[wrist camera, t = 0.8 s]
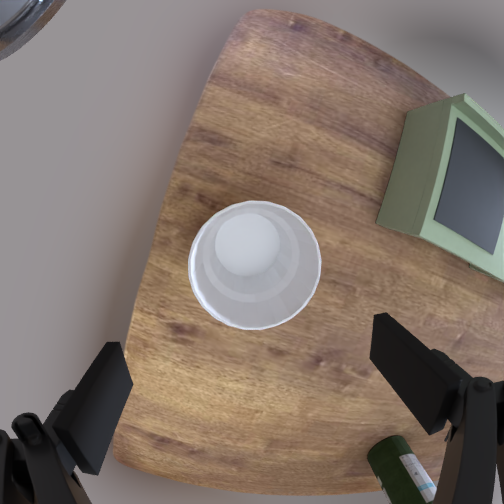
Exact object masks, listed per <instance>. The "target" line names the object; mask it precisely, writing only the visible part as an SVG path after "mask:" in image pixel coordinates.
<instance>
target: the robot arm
mask: <svg viewBox="0 0 504 504" xmlns="http://www.w3.org/2000/svg"><path fill="white" fill-rule="evenodd" d="M37 1H38V0H0V34H1V33H3V32H5V31H6V30H8V29H9V28H10V27H12V26H13V25H14V24H15V23H16V22H18V21H19V20H20V19H21V18H22V17H23V16H24V15H25V14H26V13H27V12H28V11H29V10H30V9H31V8H32V7H33V5H34V4H35V3H36V2H37ZM370 360H371V361H372V362H373V364H374V365H375V366H376V367H377V369H378V370H379V371H380V372H381V374H382V375H383V376H384V378H385V379H386V380H387V381H388V383H389V384H390V385H391V386H392V388H393V389H394V390H395V392H396V393H397V394H398V395H399V397H400V398H401V399H402V401H403V402H404V403H405V405H406V406H407V407H408V408H409V410H410V411H411V412H412V414H413V415H414V416H415V418H416V419H417V420H418V421H419V423H420V424H421V425H422V427H423V428H424V429H425V431H426V432H427V433H428V435H432V434H434V433H436V432H438V431H440V430H442V429H443V428H444V426H445V424H446V421H447V419H448V420H449V421H450V422H451V424H452V425H451V427H450V429H449V432H448V434H447V436H446V438H445V440H444V441H445V442H446V441H447V439H448V441H447V447H446V452H445V457H444V461H443V466H442V470H441V474H440V478H439V482H438V486H437V489H436V493H435V496H434V500H433V503H432V504H492V498H493V491H494V483H495V472H496V464H497V469H498V475H499V481H500V487H501V494H502V502H503V504H504V381H500V382H496V383H493V382H492V381H491V380H489V379H487V378H485V377H475V378H472V377H471V376H470V375H469V374H468V373H467V372H466V371H464V370H463V369H462V368H461V367H460V366H459V365H457V364H455V362H454V361H453V360H452V359H450V358H449V357H448V356H447V355H446V354H445V353H443V352H441V351H439V350H436V349H432V350H430V349H428V348H427V347H426V346H425V345H424V344H423V343H422V342H420V341H419V340H418V339H417V338H416V337H415V336H413V335H412V334H411V333H410V332H409V331H408V330H406V329H405V328H404V327H403V326H402V325H401V324H399V323H398V322H397V321H396V320H395V319H394V318H392V317H391V316H390V315H389V314H388V313H381V314H376V315H374V320H373V331H372V341H371V350H370ZM132 386H133V382H132V379H131V376H130V373H129V370H128V367H127V364H126V361H125V358H124V354H123V351H122V348H121V345H120V342H107V343H106V344H105V345H104V347H103V348H102V350H101V351H100V352H99V354H98V356H97V357H96V358H95V360H94V361H93V363H92V364H91V366H90V367H89V369H88V370H87V372H86V373H85V375H84V376H83V378H82V379H81V381H80V382H79V384H78V385H77V387H76V388H75V390H69V391H67V392H66V393H65V394H63V395H62V396H61V398H60V399H59V401H58V402H57V404H56V405H55V407H54V408H53V410H52V411H51V413H50V414H49V416H48V417H47V419H46V420H45V422H44V424H43V425H42V423H41V421H40V420H39V418H38V416H37V415H36V414H34V413H23V414H21V415H19V416H17V417H16V418H15V419H14V420H13V422H12V429H13V431H14V432H15V433H16V435H17V437H18V438H19V439H10V437H9V436H8V434H7V433H6V432H5V431H4V430H0V504H92V503H91V502H90V500H89V498H88V496H87V494H86V492H85V490H84V489H83V487H82V485H81V483H80V481H79V478H78V476H77V475H76V473H75V472H74V471H73V470H74V468H75V466H76V465H77V466H78V467H79V469H80V470H81V471H82V472H83V473H88V474H92V475H98V474H99V472H100V469H101V466H102V463H103V461H104V458H105V455H106V452H107V450H108V447H109V444H110V442H111V439H112V436H113V434H114V431H115V429H116V426H117V424H118V421H119V418H120V416H121V413H122V411H123V408H124V406H125V403H126V401H127V399H128V396H129V394H130V391H131V389H132Z"/></svg>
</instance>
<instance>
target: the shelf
mask: <svg viewBox="0 0 504 504" xmlns="http://www.w3.org/2000/svg"><path fill="white" fill-rule="evenodd" d="M376 224H378V225H380V226H382V227H385V228H388V229H391V230H395V231H398V232H401V233H404V234H408V235H411V236H414V237H417V238H421V239H423V240H425V241H427V242H429V243H431V244H433V245H435V246H437V247H439V248H441V249H443V250H445V251H447V252H449V253H451V254H453V255H455V256H457V257H459V258H461V259H463V260H464V261H466V262H468V263H470V266H469V268H471V269H473V270H475V271H477V272H480V273H482V274H484V275H487V276H489V277H491V278H494V279H496V280H498V281H501V282H503V283H504V129H503V128H502V127H501V126H500V125H499V124H498V123H497V122H496V121H495V120H494V119H493V118H492V117H491V116H490V115H489V114H488V113H487V112H486V111H485V110H483V108H481V107H480V106H479V105H478V104H477V103H476V102H475V101H474V100H472V99H471V98H470V97H469V96H468V95H466V94H465V93H464V94H460V95H457V96H454V97H451V98H447V99H444V100H441V101H437V102H434V103H431V104H428V105H425V106H422V107H419V108H417V109H414V110H411V111H408V112H407V116H406V120H405V124H404V128H403V132H402V136H401V140H400V144H399V148H398V152H397V155H396V159H395V163H394V166H393V170H392V173H391V176H390V180H389V183H388V186H387V190H386V193H385V196H384V199H383V202H382V205H381V208H380V211H379V214H378V217H377V220H376Z"/></svg>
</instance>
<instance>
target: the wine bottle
mask: <svg viewBox="0 0 504 504" xmlns="http://www.w3.org/2000/svg"><path fill="white" fill-rule="evenodd" d="M368 462H369V464H370V466H371V468H372V470H373V472H374V474H375V476H376V478H377V480H378V482H379V484H380V486H381V488H382V490H383V492H384V494H385V495H386V498H387V500H388V502H389V504H432V503H433V500H434V496H435V493H436V489H437V488H436V487H435V485H434V484H433V482H432V481H431V479H430V478H429V476H428V474H427V473H426V471H425V470H424V468H423V467H422V465H421V464H420V462H419V461H418V459H417V458H416V456H415V455H414V453H413V451H412V450H411V448H410V447H409V445H408V444H407V442H406V441H405V439H404V438H403V437H401V436H393V437H389V438H387V439H384V440H383V441H381V442H379V443H378V444H377V445H375V446H374V447H373V448H372V449H371V451H370V452H369V454H368Z"/></svg>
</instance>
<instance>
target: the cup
mask: <svg viewBox="0 0 504 504" xmlns="http://www.w3.org/2000/svg"><path fill="white" fill-rule="evenodd" d="M320 272H321V256H320V250H319V245H318V242H317V240H316V238H315V236H314V234H313V232H312V230H311V229H310V227H309V226H308V225H307V224H306V223H305V222H304V220H303V219H302V218H301V217H300V216H298V215H297V214H295V213H294V212H292V211H291V210H289V209H288V208H286V207H284V206H281V205H278V204H275V203H272V202H269V201H246V202H241V203H237V204H233V205H230V206H228V207H227V208H225V209H223V210H221V211H219V212H217V213H216V214H214V215H213V216H212V217H211V218H210V219H209V220H208V221H207V222H206V223H205V224H204V225H203V226H202V227H201V229H200V230H199V232H198V234H197V236H196V237H195V239H194V241H193V243H192V246H191V250H190V254H189V258H188V277H189V280H190V283H191V287H192V290H193V293H194V295H195V296H196V298H197V299H198V301H199V303H200V304H201V306H202V307H203V308H204V309H205V310H206V311H207V312H208V313H209V314H210V315H212V316H213V317H214V318H215V319H217V320H219V321H221V322H223V323H225V324H226V325H228V326H232V327H236V328H240V329H244V330H262V329H266V328H270V327H274V326H278V325H280V324H282V323H284V322H286V321H288V320H289V319H291V318H293V317H294V316H295V315H296V314H297V313H299V312H300V311H301V310H302V309H303V308H304V307H305V306H306V305H307V303H308V302H309V300H310V299H311V297H312V296H313V294H314V293H315V290H316V287H317V285H318V282H319V279H320Z"/></svg>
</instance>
